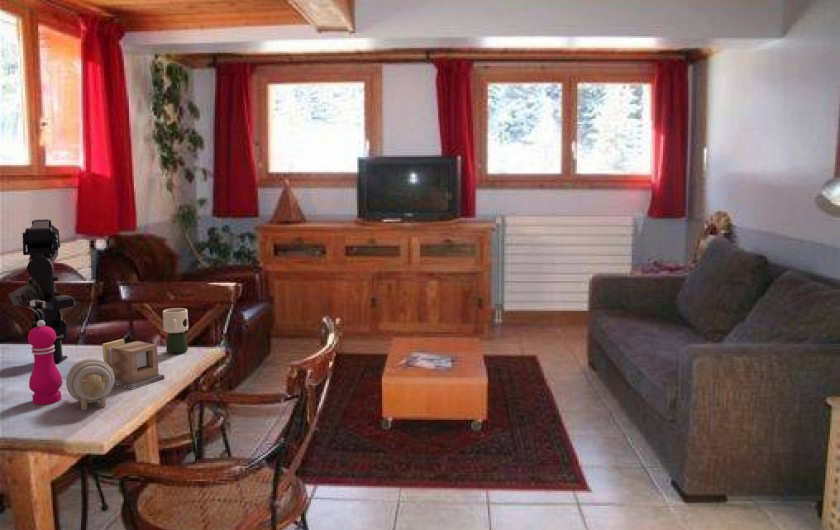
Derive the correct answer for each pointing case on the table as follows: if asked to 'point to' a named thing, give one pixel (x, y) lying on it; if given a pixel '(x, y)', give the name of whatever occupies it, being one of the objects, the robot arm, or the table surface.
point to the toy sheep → (90, 381)
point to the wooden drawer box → (135, 364)
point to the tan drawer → (107, 347)
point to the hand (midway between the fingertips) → (46, 330)
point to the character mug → (176, 329)
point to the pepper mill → (44, 366)
